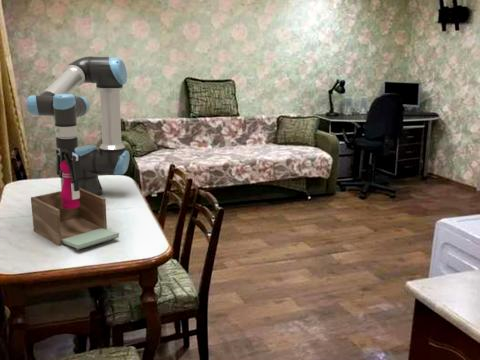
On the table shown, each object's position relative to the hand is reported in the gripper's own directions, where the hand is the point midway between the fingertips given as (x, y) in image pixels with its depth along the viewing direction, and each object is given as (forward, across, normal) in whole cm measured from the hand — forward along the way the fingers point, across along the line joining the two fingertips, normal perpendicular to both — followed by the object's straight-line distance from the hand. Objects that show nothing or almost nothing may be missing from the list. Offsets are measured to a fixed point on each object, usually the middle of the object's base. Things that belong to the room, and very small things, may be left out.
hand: (70, 196), depth 185 cm
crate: (+15, -2, 0) cm, 15 cm away
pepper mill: (+4, 0, 0) cm, 4 cm away
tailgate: (+13, +7, 0) cm, 15 cm away
